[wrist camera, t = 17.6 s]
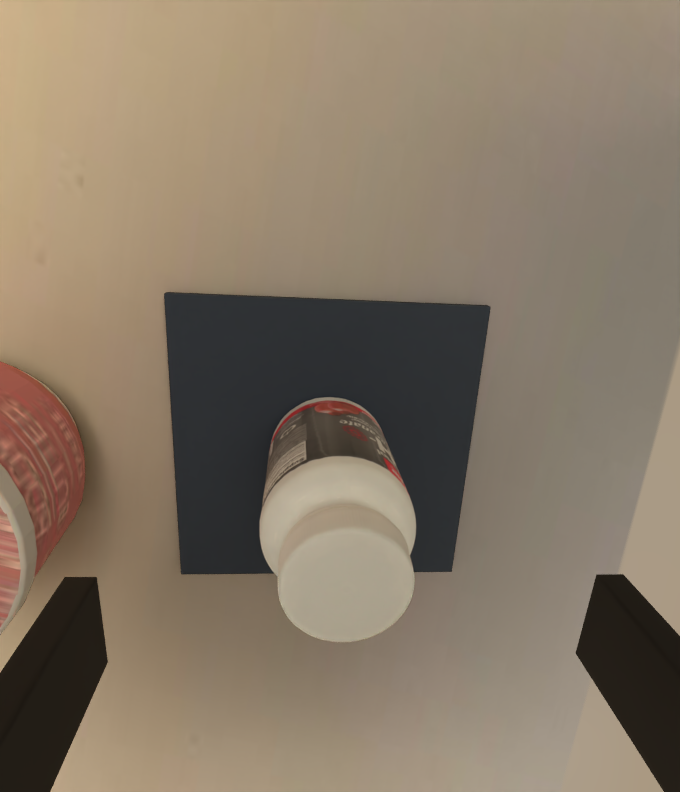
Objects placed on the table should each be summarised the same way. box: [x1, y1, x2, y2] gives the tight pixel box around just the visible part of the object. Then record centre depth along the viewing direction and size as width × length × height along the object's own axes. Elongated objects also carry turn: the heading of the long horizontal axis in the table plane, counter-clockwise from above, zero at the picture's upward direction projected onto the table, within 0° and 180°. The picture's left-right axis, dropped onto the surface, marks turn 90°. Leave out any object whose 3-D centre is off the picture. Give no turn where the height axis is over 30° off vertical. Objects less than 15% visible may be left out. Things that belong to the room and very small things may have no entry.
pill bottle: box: [260, 397, 416, 642], centre depth 19 cm, size 5×5×10 cm
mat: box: [164, 292, 490, 574], centre depth 24 cm, size 14×14×1 cm
